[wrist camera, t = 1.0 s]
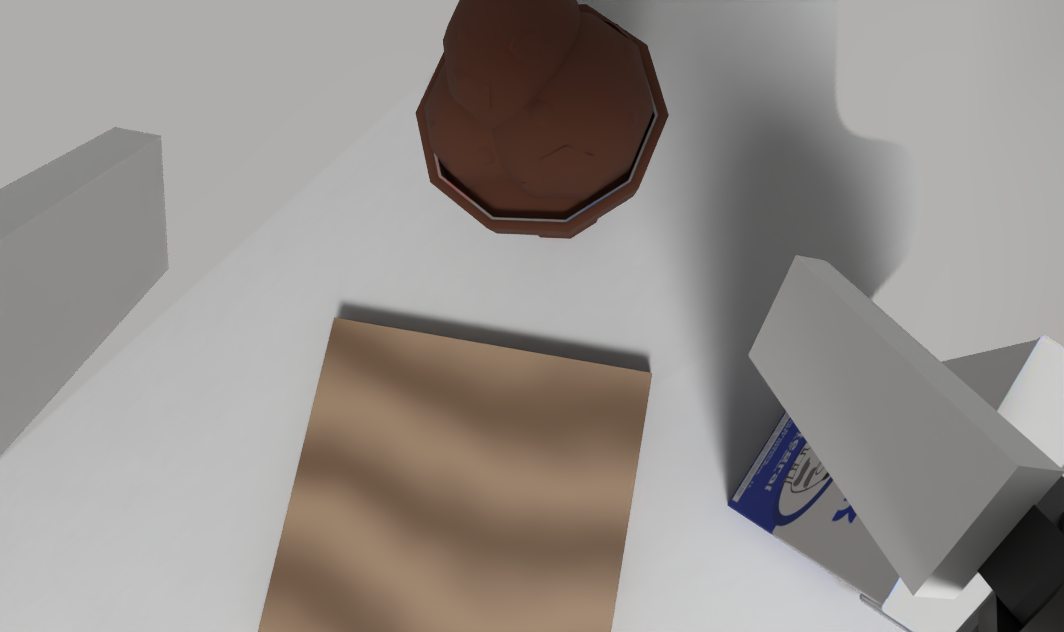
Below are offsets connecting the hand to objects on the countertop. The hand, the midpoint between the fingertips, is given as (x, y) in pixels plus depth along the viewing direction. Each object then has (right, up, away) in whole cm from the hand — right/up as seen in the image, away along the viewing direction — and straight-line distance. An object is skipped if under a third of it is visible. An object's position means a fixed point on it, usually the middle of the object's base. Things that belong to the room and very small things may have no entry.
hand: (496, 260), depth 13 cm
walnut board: (-3, -12, +21) cm, 24 cm away
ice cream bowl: (+2, +6, +24) cm, 24 cm away
